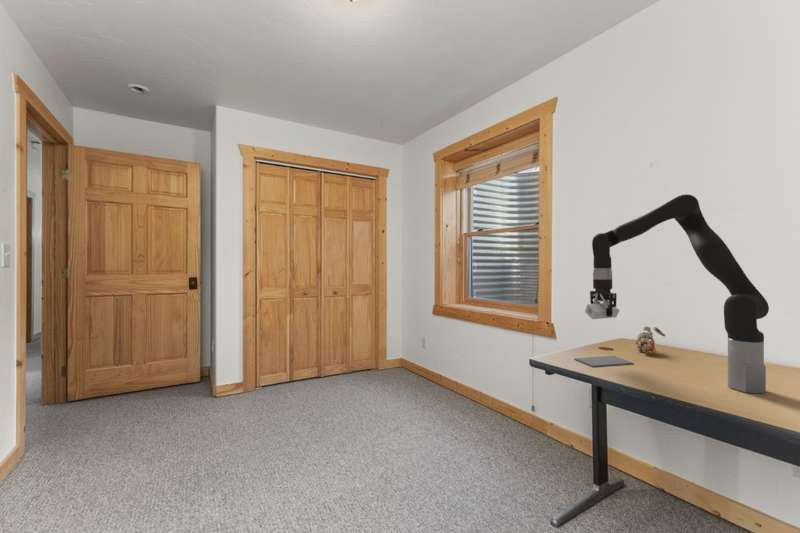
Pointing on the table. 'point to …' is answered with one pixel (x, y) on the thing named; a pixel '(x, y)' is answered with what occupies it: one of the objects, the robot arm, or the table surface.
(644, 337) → the voxel character
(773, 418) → the table surface
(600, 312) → the skincare box
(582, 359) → the slate mat
